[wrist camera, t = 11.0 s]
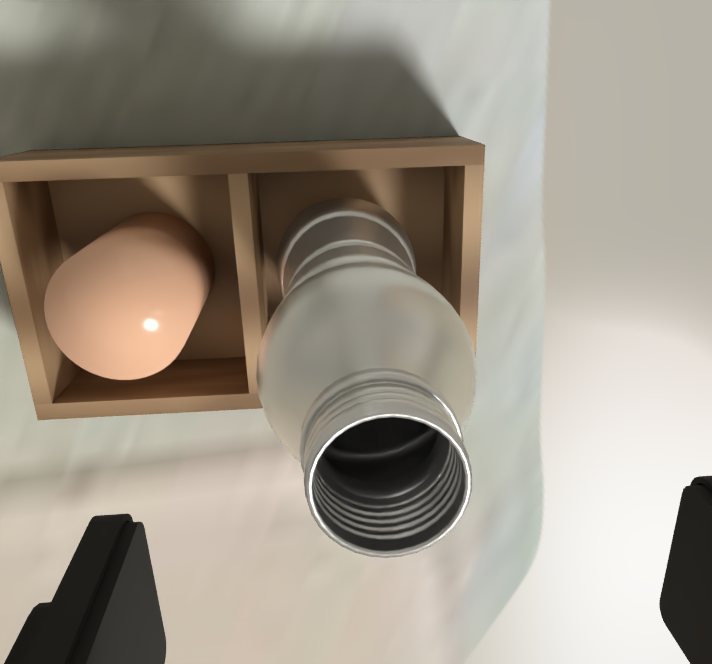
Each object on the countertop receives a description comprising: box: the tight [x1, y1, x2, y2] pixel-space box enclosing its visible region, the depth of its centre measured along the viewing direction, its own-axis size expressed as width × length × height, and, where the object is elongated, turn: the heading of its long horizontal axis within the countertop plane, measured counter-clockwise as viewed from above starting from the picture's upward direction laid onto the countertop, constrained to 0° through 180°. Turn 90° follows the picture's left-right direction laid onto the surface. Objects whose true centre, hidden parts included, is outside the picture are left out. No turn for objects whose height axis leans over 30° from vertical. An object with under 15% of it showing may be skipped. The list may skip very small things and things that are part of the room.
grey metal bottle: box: [256, 197, 476, 558], centre depth 23 cm, size 6×7×20 cm
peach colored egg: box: [44, 212, 215, 380], centre depth 28 cm, size 6×6×7 cm
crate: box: [0, 136, 485, 420], centre depth 30 cm, size 12×20×5 cm, turn 91°
